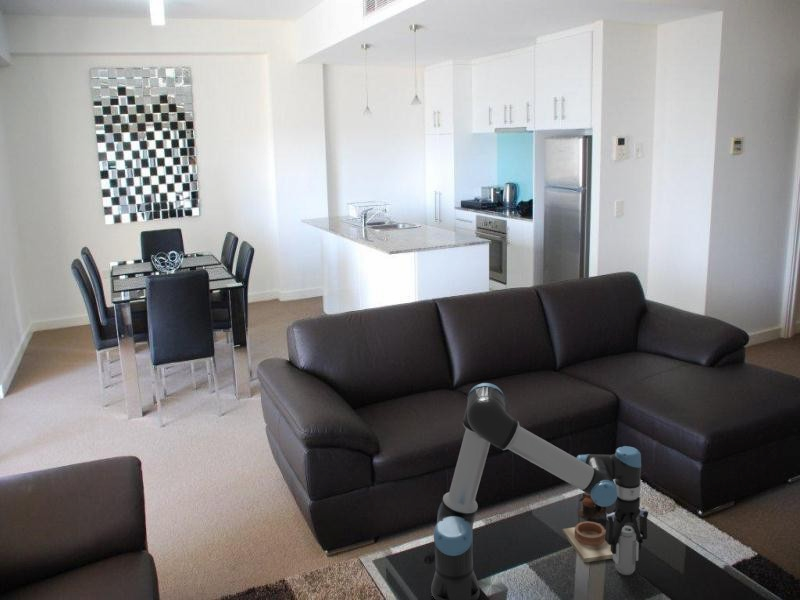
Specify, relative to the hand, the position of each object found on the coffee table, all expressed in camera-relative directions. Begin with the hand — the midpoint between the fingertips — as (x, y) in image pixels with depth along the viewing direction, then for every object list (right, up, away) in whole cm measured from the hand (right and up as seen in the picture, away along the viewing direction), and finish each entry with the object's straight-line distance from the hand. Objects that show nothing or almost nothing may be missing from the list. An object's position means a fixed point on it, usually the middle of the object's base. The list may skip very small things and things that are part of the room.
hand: (625, 559), depth 221 cm
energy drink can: (0, -4, +1) cm, 4 cm away
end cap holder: (-6, -1, +16) cm, 17 cm away
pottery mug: (-1, +4, +34) cm, 35 cm away
